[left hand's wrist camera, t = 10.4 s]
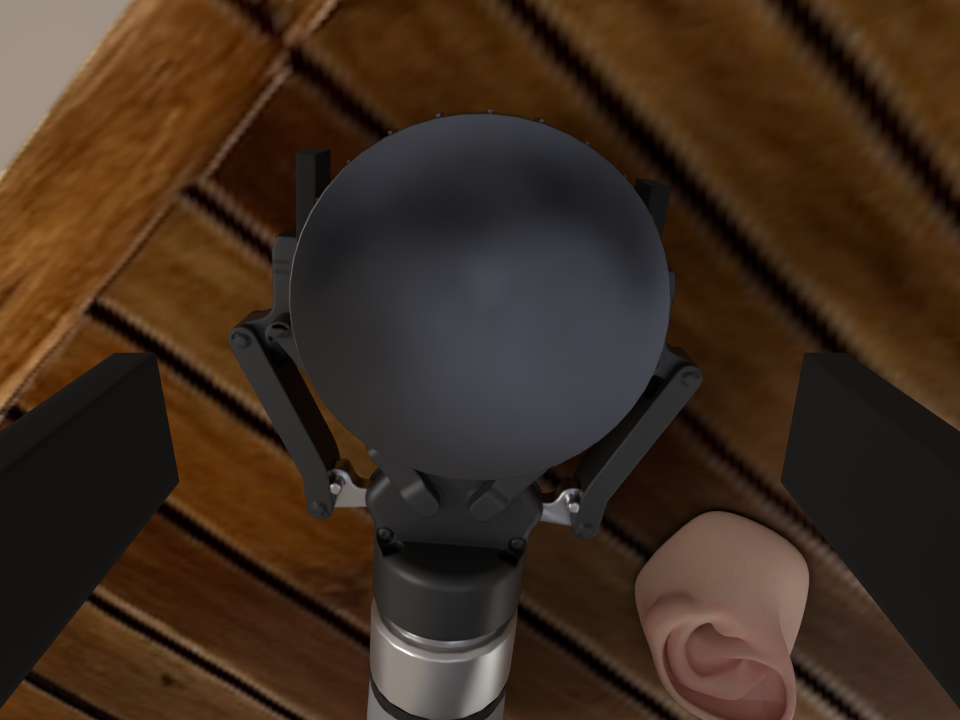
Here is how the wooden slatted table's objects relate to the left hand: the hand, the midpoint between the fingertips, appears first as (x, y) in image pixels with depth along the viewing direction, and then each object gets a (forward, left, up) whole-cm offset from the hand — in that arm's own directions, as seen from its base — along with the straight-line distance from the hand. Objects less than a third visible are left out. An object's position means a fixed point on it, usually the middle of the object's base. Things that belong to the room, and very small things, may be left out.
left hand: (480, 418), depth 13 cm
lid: (0, 0, -7) cm, 7 cm away
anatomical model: (-27, +9, -23) cm, 36 cm away
